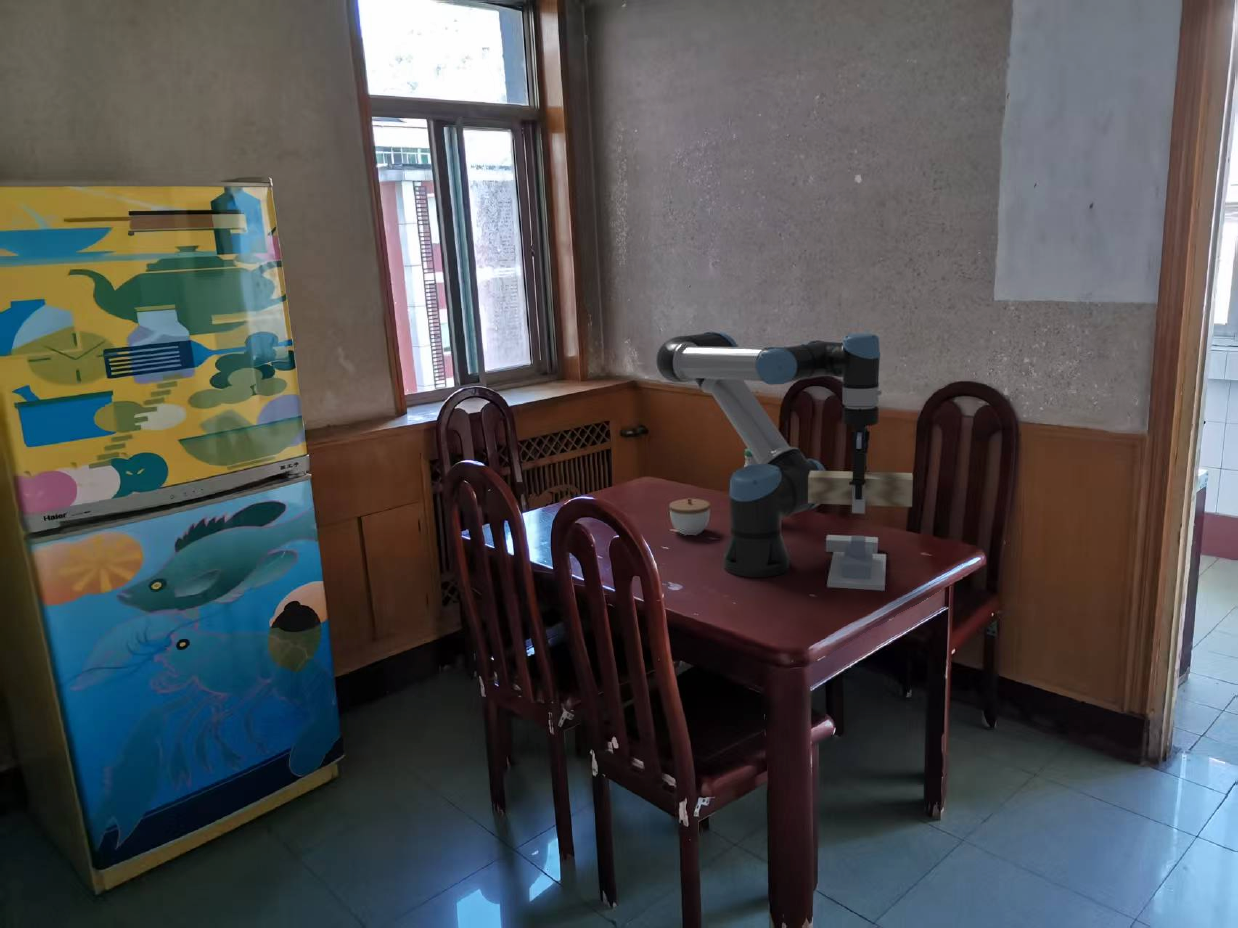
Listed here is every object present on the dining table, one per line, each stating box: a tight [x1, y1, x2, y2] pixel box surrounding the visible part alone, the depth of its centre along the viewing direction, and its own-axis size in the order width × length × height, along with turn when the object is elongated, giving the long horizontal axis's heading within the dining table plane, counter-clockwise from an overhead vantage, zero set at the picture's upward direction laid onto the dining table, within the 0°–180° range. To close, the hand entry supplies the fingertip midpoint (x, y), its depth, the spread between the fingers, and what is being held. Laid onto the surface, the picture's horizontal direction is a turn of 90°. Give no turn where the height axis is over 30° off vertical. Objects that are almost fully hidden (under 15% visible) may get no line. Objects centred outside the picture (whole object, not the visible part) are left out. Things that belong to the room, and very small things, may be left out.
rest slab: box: [825, 534, 879, 554], centre depth 213 cm, size 12×4×3 cm, turn 73°
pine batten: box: [808, 470, 914, 508], centre depth 194 cm, size 22×6×6 cm, turn 73°
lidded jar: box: [668, 497, 711, 536], centre depth 233 cm, size 11×11×9 cm
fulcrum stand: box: [826, 534, 887, 592], centre depth 198 cm, size 12×20×8 cm, turn 163°
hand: (859, 508), depth 196 cm, fingers closed on pine batten, 6 cm apart
